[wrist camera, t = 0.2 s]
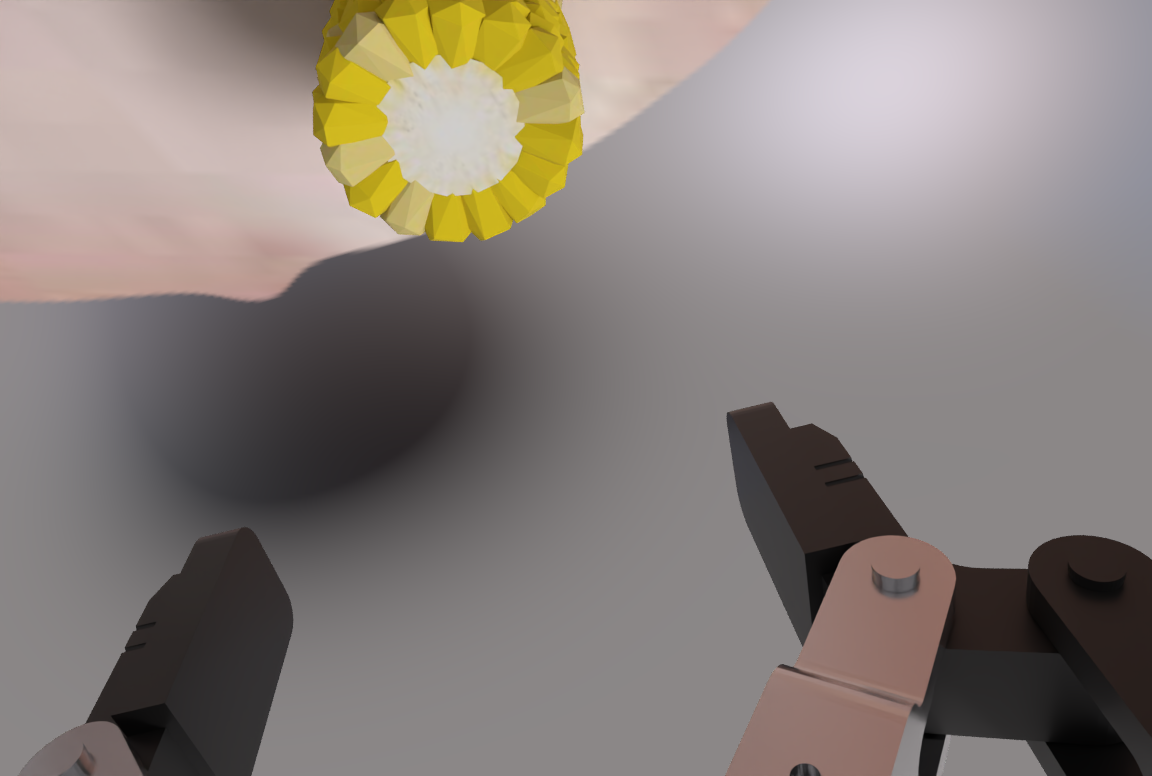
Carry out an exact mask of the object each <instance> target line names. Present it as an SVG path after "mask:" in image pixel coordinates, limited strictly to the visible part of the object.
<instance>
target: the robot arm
mask: <svg viewBox="0 0 1152 776" xmlns="http://www.w3.org/2000/svg"><path fill="white" fill-rule="evenodd" d="M727 427H728V433H729V440H730V447H731V453H732V460H733V466H734V473H735V480H736V487H737V492H738V496H739V501H740V504H741V508H742V511H743V515H744V518H745V521H746V523H747V526H748V528H749V530H750V532H751V534H752V536H753V539H754V541H755V543H756V545H757V548H758V550H759V552H760V554H761V556H762V559H763V561H764V563H765V565H766V567H767V570H768V572H769V574H770V576H771V578H772V581H773V583H774V585H775V587H776V589H777V592H778V594H779V596H780V598H781V600H782V602H783V605H784V607H785V609H786V611H787V613H788V616H789V618H790V620H791V622H792V624H793V627H794V629H795V631H796V633H797V636H798V638H799V640H800V642H801V644H802V647H803V648H802V650H801V653H800V655H799V657H798V660H797V662H796V663H795V665H794V666H793V667H790V666H787V665H784V664H781V665H779V666H778V667H777V668H776V669H775V670H774V671H773V673H772V674H771V676H770V678H769V680H768V682H767V684H766V686H765V688H764V691H763V693H762V695H761V697H760V699H759V702H758V704H757V706H756V708H755V711H754V713H753V715H752V717H751V720H750V722H749V724H748V726H747V728H746V730H745V733H744V735H743V737H742V739H741V741H740V744H739V746H738V748H737V750H736V753H735V755H734V757H733V759H732V761H731V764H730V766H729V768H728V770H727V773H726V775H725V776H942V774H943V770H944V766H945V761H946V757H947V753H948V748H949V744H950V740H951V736H952V735H958V736H972V737H986V738H1000V739H1014V740H1026V741H1027V742H1028V744H1029V746H1030V747H1031V749H1032V751H1033V753H1034V754H1035V756H1036V757H1037V759H1038V761H1039V763H1040V764H1041V766H1042V768H1043V769H1044V771H1045V773H1046V774H1047V776H1152V560H1151V559H1150V558H1149V557H1148V556H1146V555H1145V554H1143V553H1141V552H1140V551H1138V550H1136V549H1134V548H1132V547H1130V546H1128V545H1126V544H1123V543H1121V542H1118V541H1114V540H1111V539H1107V538H1102V537H1096V536H1086V535H1073V536H1066V537H1060V538H1056V539H1052V540H1050V541H1048V542H1046V543H1044V544H1042V545H1041V546H1039V547H1038V548H1037V549H1036V550H1035V551H1034V552H1033V554H1032V555H1031V557H1030V560H1029V564H1028V569H990V568H987V569H986V568H970V567H964V566H959V565H955V564H952V563H951V562H950V561H949V559H948V558H947V557H946V556H945V555H944V554H943V553H942V552H941V551H940V550H938V549H937V548H935V547H934V546H932V545H930V544H928V543H926V542H923V541H921V540H918V539H914V538H910V537H908V536H907V534H906V533H905V531H904V530H903V529H902V527H901V526H900V524H899V523H898V522H897V520H896V519H895V518H894V517H893V515H892V513H891V512H890V511H889V509H888V508H887V507H886V505H885V504H884V502H883V501H882V500H881V498H880V497H879V495H878V494H877V493H876V491H875V490H874V488H873V487H872V486H871V484H870V483H869V481H868V480H867V479H866V478H864V476H863V473H862V472H861V470H860V469H859V468H858V466H857V465H856V463H855V462H854V461H853V462H852V459H851V457H850V455H849V454H848V452H847V451H846V450H845V448H844V447H843V445H842V444H841V443H840V441H839V440H838V438H837V437H835V436H833V435H831V434H830V433H828V432H826V431H824V430H822V429H821V428H819V427H817V426H815V425H814V424H808V425H804V426H800V427H795V428H791V429H790V428H789V427H788V425H787V423H786V422H785V420H784V419H783V417H782V416H781V414H780V412H779V411H778V409H777V408H776V406H775V405H774V403H772V402H769V403H764V404H760V405H756V406H751V407H747V408H743V409H739V410H735V411H731V412H728V413H727ZM136 629H137V630H136V631H133V633H132V635H131V637H130V638H129V640H128V643H127V644H126V646H125V650H126V652H124V653H122V654H121V656H120V658H119V660H118V662H117V664H116V666H115V668H114V669H113V671H112V673H111V675H110V677H109V679H108V681H107V683H106V685H105V687H104V689H103V691H102V692H101V695H100V697H99V698H98V700H97V702H96V704H95V706H94V708H93V710H92V712H91V714H90V716H89V718H88V720H87V722H86V723H85V724H83V725H81V726H78V727H75V728H73V729H71V730H69V731H67V732H65V733H63V734H62V735H60V736H58V737H57V738H55V739H54V740H52V741H51V742H50V743H48V744H47V745H46V746H44V747H43V748H42V749H41V750H40V751H39V752H37V753H36V754H35V755H34V756H33V757H32V758H31V759H30V760H29V761H28V763H27V764H26V765H25V766H24V768H23V769H22V770H21V771H20V773H19V774H18V776H251V775H252V771H253V767H254V764H255V761H256V757H257V753H258V750H259V746H260V743H261V739H262V736H263V732H264V729H265V725H266V722H267V718H268V715H269V711H270V707H271V704H272V701H273V697H274V693H275V690H276V686H277V683H278V680H279V676H280V673H281V669H282V666H283V662H284V658H285V655H286V652H287V648H288V645H289V641H290V637H291V634H292V629H293V612H292V606H291V602H290V599H289V596H288V594H287V592H286V590H285V588H284V586H283V584H282V582H281V581H280V579H279V577H278V575H277V573H276V571H275V569H274V567H273V565H272V564H271V562H270V560H269V558H268V556H267V554H266V552H265V551H264V549H263V547H262V545H261V543H260V541H259V539H258V537H257V536H256V534H255V533H254V532H253V531H252V530H251V529H250V528H248V527H243V528H238V529H234V530H230V531H226V532H222V533H218V534H213V535H209V536H205V537H201V538H199V539H198V540H197V541H196V543H195V544H194V546H193V548H192V551H191V553H190V555H189V557H188V559H187V561H186V563H185V565H184V567H183V569H182V571H181V573H180V574H176V575H173V576H172V577H171V578H170V579H169V580H168V581H167V582H166V583H165V585H163V586H162V587H161V589H160V590H159V591H158V592H157V593H156V594H155V595H154V596H153V597H152V598H151V599H150V600H149V602H148V604H147V606H146V608H145V610H144V612H143V613H142V616H141V617H140V619H139V621H138V623H137V625H136Z"/></svg>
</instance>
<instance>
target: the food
mask: <svg viewBox="0 0 1152 776" xmlns="http://www.w3.org/2000/svg"><path fill="white" fill-rule="evenodd" d="M561 8H562V0H334V3H333V5H332V7H331V9H330V15H331V18H330V20H329V21H328V23H327V24H326V25H325V27H324V28H323V30H322V34H323V38H324V43H323V47H322V50H321V53H320V56H319V59H318V62H317V65H316V70H317V75H318V77H317V79H318V81H319V85H318V86H317V87H316V89H315V90H314V91H313V92H312V93H313V100H314V107H313V135H314V136H315V137H317V138H318V139H319V140H320V141H322V142H323V143H322V146H321V147H320V149H321V152H322V156H323V159H324V162H325V165H326V167H327V168H328V169H329V171H330V172H331V173H332V175H333V176H334V177H335V178H336V180H337V181H338V182H339V183H342V184H343V185H344V188H345V192H346V195H347V198H348V201H349V205H350V206H352V207H354V208H356V209H358V210H360V211H362V212H364V213H366V214H368V215H370V216H373V217H375V218H376V217H378V216H379V215H380V217H381V218H382V219H383V220H384V221H385V222H386V223H387V224H388V225H389V226H390V227H391V228H392V229H393V230H394V231H396V232H397V233H398V234H403V235H421V234H423V233H424V232H426V234H427V236H428V238H429V240H433V241H452V242H453V241H454V242H463V241H464V240H465V239H466V238H467V237H468V235H469V234H470V233H471V232H472V233H473V234H474V235H475V236H476V237H477V238H478V239H479V240H486V239H489V238H491V237H493V236H495V235H498V234H500V233H502V232H504V231H506V230H509V229H510V228H511V225H512V222H513V220H514V221H515V222H516V223H518V222H520V221H522V220H523V219H525V218H527V217H529V216H531V215H532V214H534V213H535V212H537V211H538V210H539V209H541V208H542V207H544V206H545V203H546V201H545V200H546V197H547V196H549V195H551V194H553V193H555V192H557V191H558V190H560V189H562V188H564V187H565V182H566V176H567V169H568V163H570V162H571V161H573V160H574V159H576V158H577V157H579V156H581V155H582V146H583V133H582V129H581V120H580V115H582V114H584V107H583V100H582V94H581V87H580V81H579V72H578V70H579V64H578V62H577V61H576V59H575V56H576V52H575V48H574V44H573V40H572V36H571V33H570V29H569V27H568V24H567V22H566V20H565V18H564V15H563V13H562V11H561Z"/></svg>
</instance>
